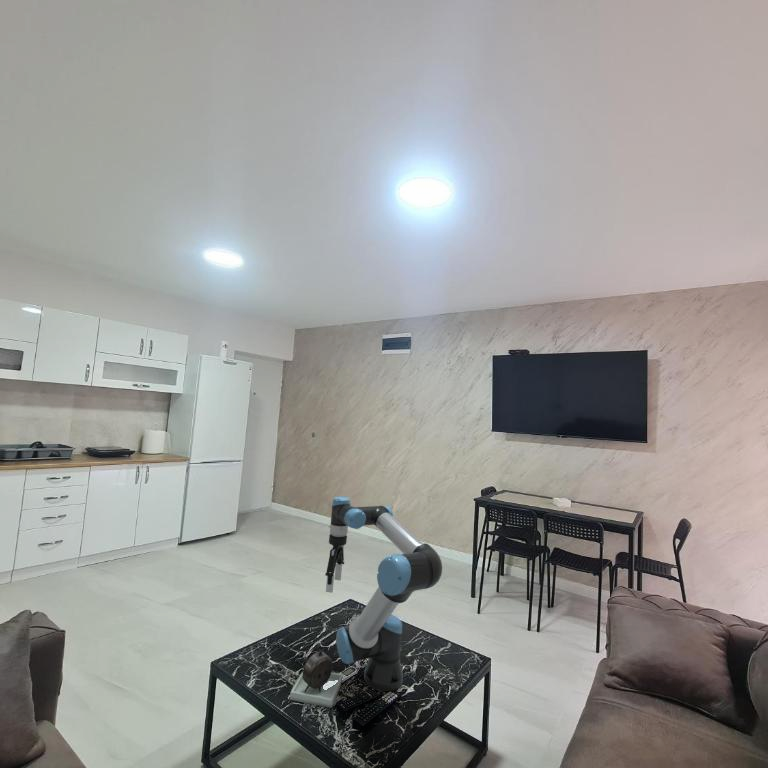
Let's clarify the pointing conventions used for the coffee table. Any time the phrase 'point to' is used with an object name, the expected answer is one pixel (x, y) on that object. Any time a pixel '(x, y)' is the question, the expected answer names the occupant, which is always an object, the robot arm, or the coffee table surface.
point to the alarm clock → (317, 670)
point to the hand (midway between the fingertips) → (333, 585)
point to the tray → (316, 692)
